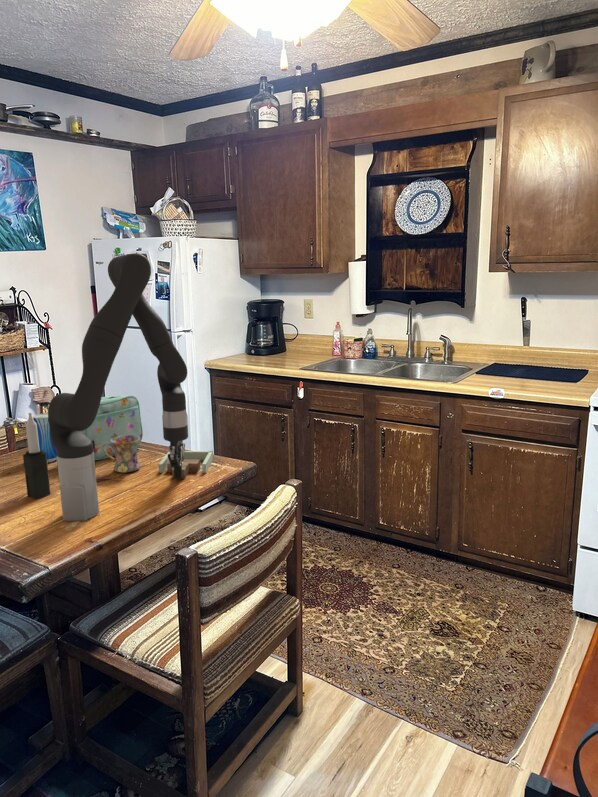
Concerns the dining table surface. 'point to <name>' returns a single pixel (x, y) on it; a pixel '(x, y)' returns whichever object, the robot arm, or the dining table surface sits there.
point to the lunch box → (114, 423)
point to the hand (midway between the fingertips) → (178, 477)
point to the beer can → (45, 436)
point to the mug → (125, 453)
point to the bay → (191, 455)
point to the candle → (35, 464)
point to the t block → (185, 468)
